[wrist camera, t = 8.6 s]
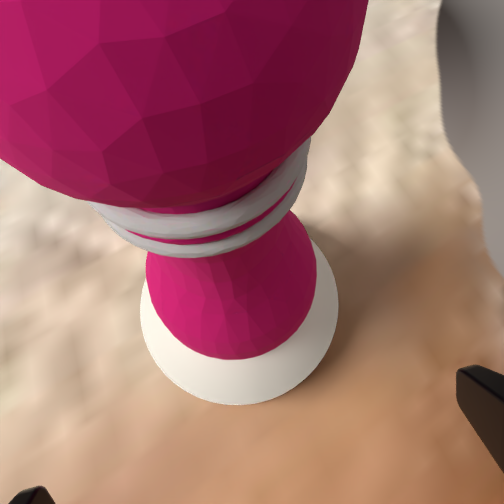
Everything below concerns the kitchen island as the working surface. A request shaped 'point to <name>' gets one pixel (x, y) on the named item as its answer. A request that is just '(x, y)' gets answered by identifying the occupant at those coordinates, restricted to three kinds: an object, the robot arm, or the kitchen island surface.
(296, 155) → the pepper mill
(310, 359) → the stand
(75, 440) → the kitchen island surface
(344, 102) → the kitchen island surface
